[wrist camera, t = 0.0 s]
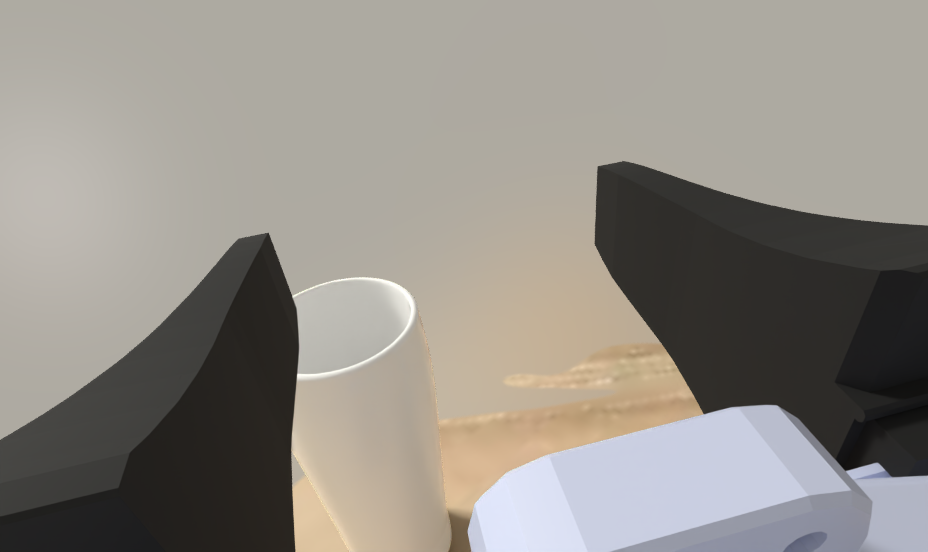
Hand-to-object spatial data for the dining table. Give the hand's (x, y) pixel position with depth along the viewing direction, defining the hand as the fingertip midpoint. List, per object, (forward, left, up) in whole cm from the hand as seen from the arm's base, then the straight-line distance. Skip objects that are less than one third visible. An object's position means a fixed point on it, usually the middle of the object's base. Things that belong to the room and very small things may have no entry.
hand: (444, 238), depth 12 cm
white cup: (+8, +4, -22) cm, 24 cm away
